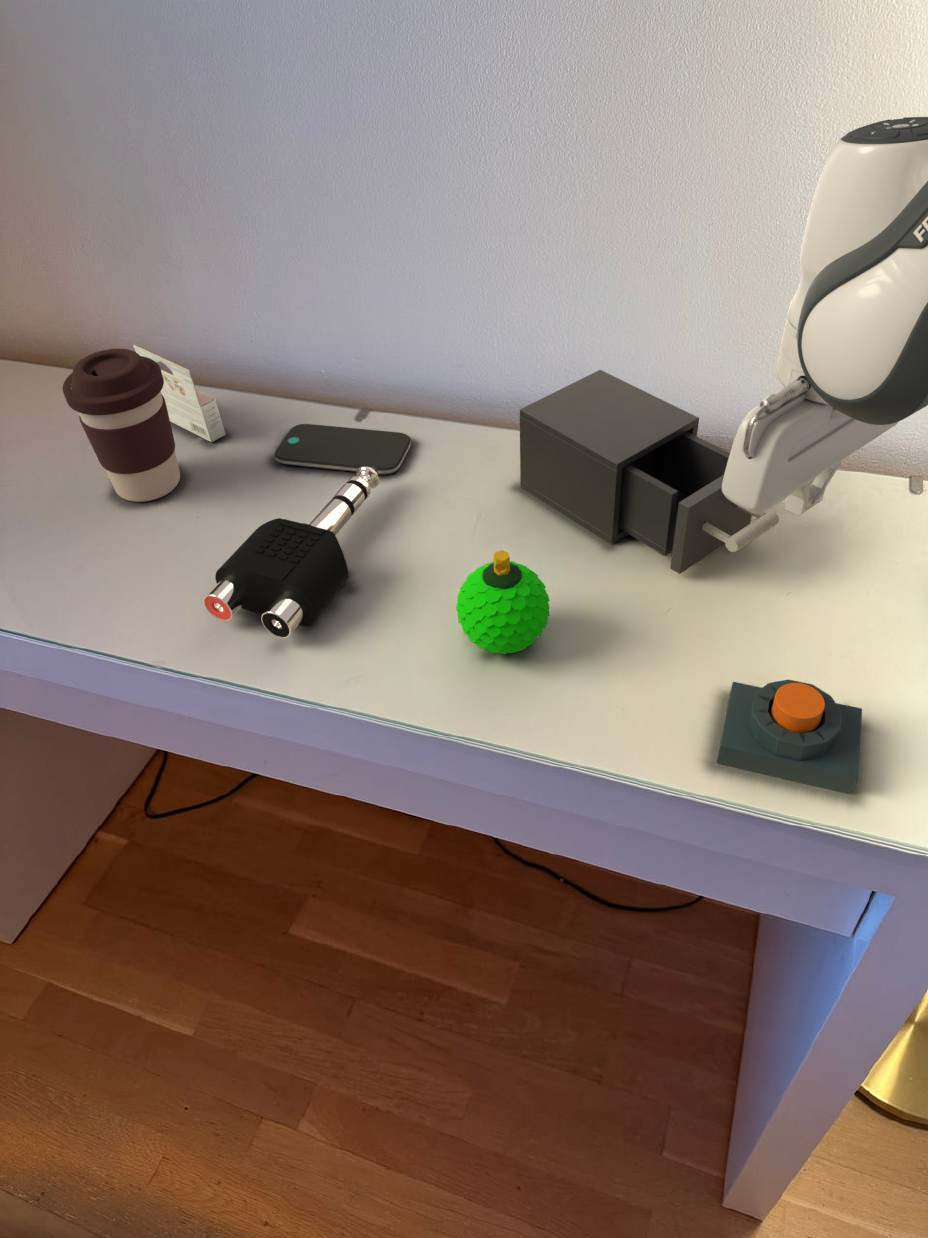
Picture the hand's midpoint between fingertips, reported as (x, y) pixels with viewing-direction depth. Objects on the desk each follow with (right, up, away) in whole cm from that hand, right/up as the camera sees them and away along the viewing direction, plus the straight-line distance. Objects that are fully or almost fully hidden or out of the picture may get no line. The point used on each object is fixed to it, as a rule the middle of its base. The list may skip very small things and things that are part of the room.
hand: (802, 505), depth 79 cm
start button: (-3, -17, -7) cm, 19 cm away
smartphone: (-43, +10, +29) cm, 52 cm away
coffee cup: (-64, +5, +26) cm, 70 cm away
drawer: (-7, -1, +14) cm, 15 cm away
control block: (-3, -20, -5) cm, 20 cm away
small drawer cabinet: (-14, +4, +21) cm, 25 cm away
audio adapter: (-43, -3, +15) cm, 46 cm away
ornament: (-25, -12, +5) cm, 28 cm away
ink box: (-62, +14, +35) cm, 73 cm away
